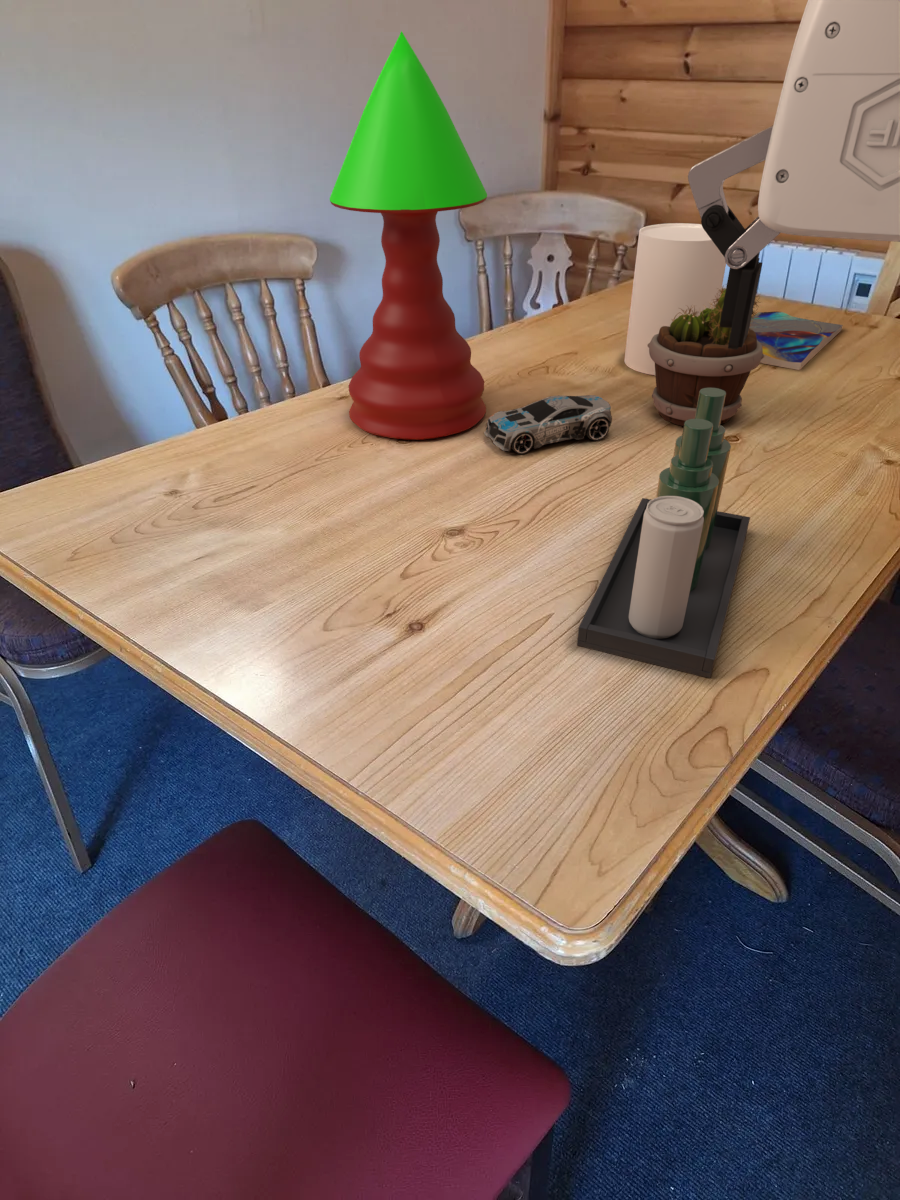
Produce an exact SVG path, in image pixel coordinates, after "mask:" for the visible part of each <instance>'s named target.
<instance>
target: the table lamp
mask: <svg viewBox="0 0 900 1200" xmlns="http://www.w3.org/2000/svg"><path fill="white" fill-rule="evenodd" d="M487 198H488V193H487V190H486V188H485V187H484V185H483V183H482V180H481V178H480V177H479V174H478V172H477V171H476V169H475V166H474V164H473V162H472V159H471V158H470V156H469V153H468V152H467V149H466V147H465V145H464V143H463V141H462V139H461V137H460V134H459V133H458V131H457V128H456V126H455V125H454V123H453V120H452V118H451V116H450V114H449V111H448V109H447V107H446V106H445V104H444V102H443V100H442V99H441V97H440V94H439V93H438V91H437V89H436V87H435V86H434V83H433V82H432V79H431V78H430V76H429V75H428V72H427V71H426V69H425V68H424V66H423V64H422V63H421V61H420V59H419V58H418V56H417V54H416V53H415V51H414V49H413V47H412V45H411V44H410V43H409V40H408V39H407V37H406V36H405V34H404V33H403V31H402V30H401V31H400V32H399V35H398V37H397V39H396V41H395V43H394V45H393V47H392V49H391V51H390V53H389V55H388V57H387V59H386V61H385V63H384V65H383V67H382V69H381V71H380V73H379V75H378V77H377V79H376V82H375V84H374V86H373V88H372V91H371V93H370V96H369V97H368V100H367V102H366V105H365V107H364V109H363V111H362V115H361V116H360V119H359V122H358V123H357V127H356V130H355V132H354V134H353V136H352V140H351V142H350V145H349V148H348V149H347V152H346V154H345V158H344V160H343V163H342V165H341V168H340V171H339V173H338V175H337V178H336V180H335V183H334V186H333V189H332V190H331V194H330V196H329V202H330V205H332V206H333V207H335V208H338V209H341V210H345V211H346V210H347V211H351V212H360V213H371V214H373V213H374V214H380V215H381V216H382V220H383V224H382V225H383V227H382V231H381V237H380V244H381V247H382V251H383V254H384V259H385V264H384V269H383V273H382V276H381V289H382V297H381V301H380V303H379V304H378V306H377V307H376V309H375V312H374V313H373V316H372V332H371V335H369V337H368V338H367V339H366V341H364V343H363V344H362V346H361V347H360V350H359V355H358V356H359V362H360V367H359V369H358V370H357V371H356V372H355V373H354V374H353V375H352V377H351V379H350V381H349V383H348V393H349V396H350V398H351V399H352V401H353V402H352V404H351V406H350V408H349V411H348V415H349V418H350V420H351V421H352V423H353V424H354V425H356V426H357V427H358V428H360V429H361V430H363V431H364V432H365V433H366V432H367V433H369V434H371V435H375V436H378V437H384V438H390V439H398V440H399V439H400V440H417V441H418V440H429V439H436V438H437V439H438V438H443V437H447V436H451V435H455V434H460V433H463V432H464V431H468V430H469V429H471V428H472V427H474V426H476V425H477V424H478V423H479V422H480V421H481V420H482V419H483V418H484V417H485V415H486V413H487V407H486V404H485V402H484V400H483V398H482V396H483V394H484V391H485V379H484V377H483V376H482V374H481V372H480V371H479V370H478V369H477V368H476V367H475V366H474V365H472V363H471V362H472V361H471V359H472V348H471V346H470V345H469V343H468V341H467V340H466V339H465V338H464V337H463V336H462V335H461V333H459V331H457V328H456V315H455V313H454V311H453V309H452V308H451V305H450V304H449V303H448V302H447V300H446V299H445V296H444V292H443V291H444V290H443V287H444V285H443V284H444V282H443V275H442V272H441V270H440V269H441V268H440V266H439V263H438V253H439V249H440V241H441V240H440V239H441V238H440V233H439V229H438V225H437V214H438V212H447V211H454V210H460V209H461V210H462V209H466V208H470V207H474V206H477V205H480V204H482V203H484V202H485V201H486V200H487Z"/></svg>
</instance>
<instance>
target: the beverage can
mask: <svg viewBox="0 0 900 1200" xmlns="http://www.w3.org/2000/svg"><path fill="white" fill-rule="evenodd" d="M703 514H704V511H703V508H702V507H701V506H700V505H699V504H698V503H696V502H695V501H692V500H690V499H687V498H683V497H678V496H661V497H657V498H656V497H654V498H653V499H651V500H650V501H649V503H648V504H647V507H646V510H645V512H644V516H643V523H642V530H641V536H640V543H639V550H638V557H637V563H636V570H635V577H634V584H633V590H632V597H631V604H630V610H629V622H630V624H631V625H632V627H633V628H634V629H635V630H636V631H637V632H638V633H640V634H642V635H643V636H646V637H649V638H654V639H664V638H668V637H671V636H673V635H675V634H676V633H678V632H679V631H680V630H681V628H682V627H683V622H684V617H685V612H686V607H687V602H688V598H689V593H690V588H691V583H692V578H693V573H694V568H695V563H696V558H697V553H698V548H699V543H700V538H701V533H702V528H703V523H704V517H703Z"/></svg>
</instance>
